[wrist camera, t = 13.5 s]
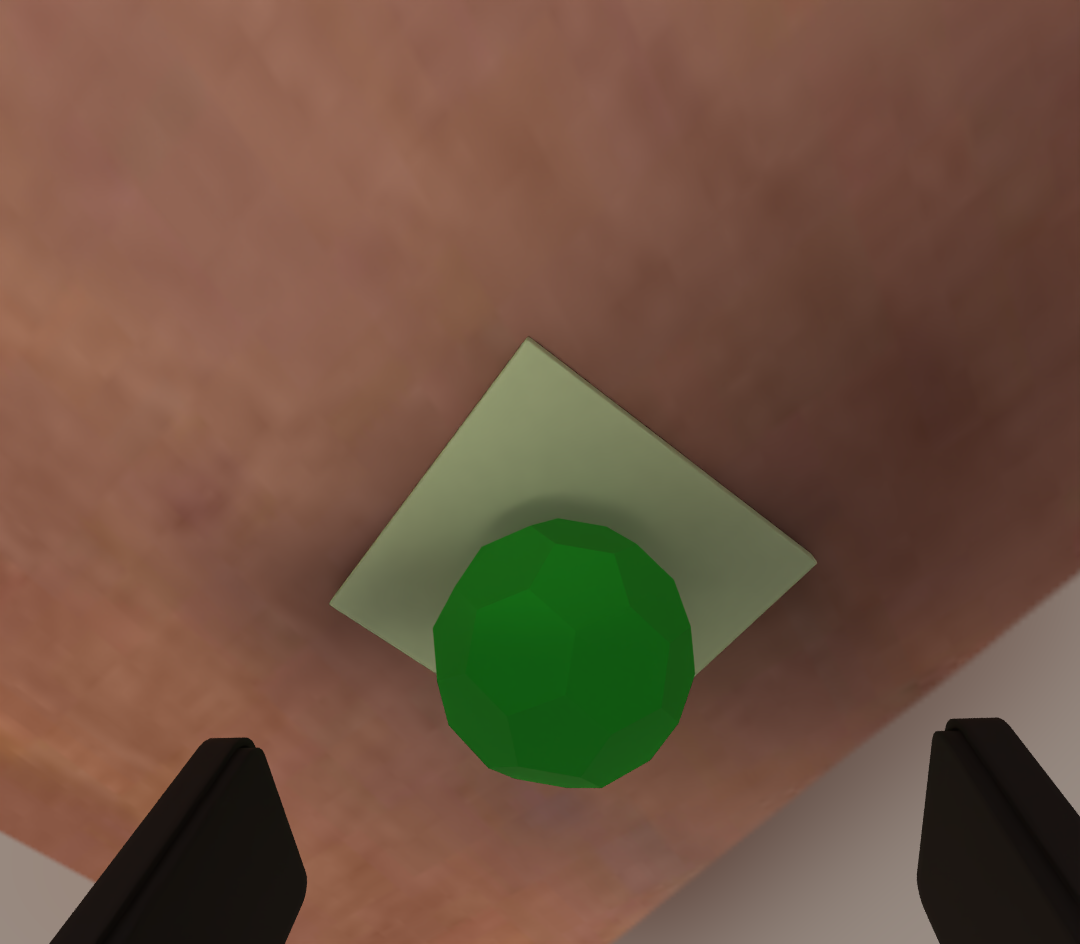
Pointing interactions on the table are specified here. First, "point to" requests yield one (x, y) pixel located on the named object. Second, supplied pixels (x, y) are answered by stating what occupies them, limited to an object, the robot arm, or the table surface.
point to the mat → (568, 511)
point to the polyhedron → (564, 655)
